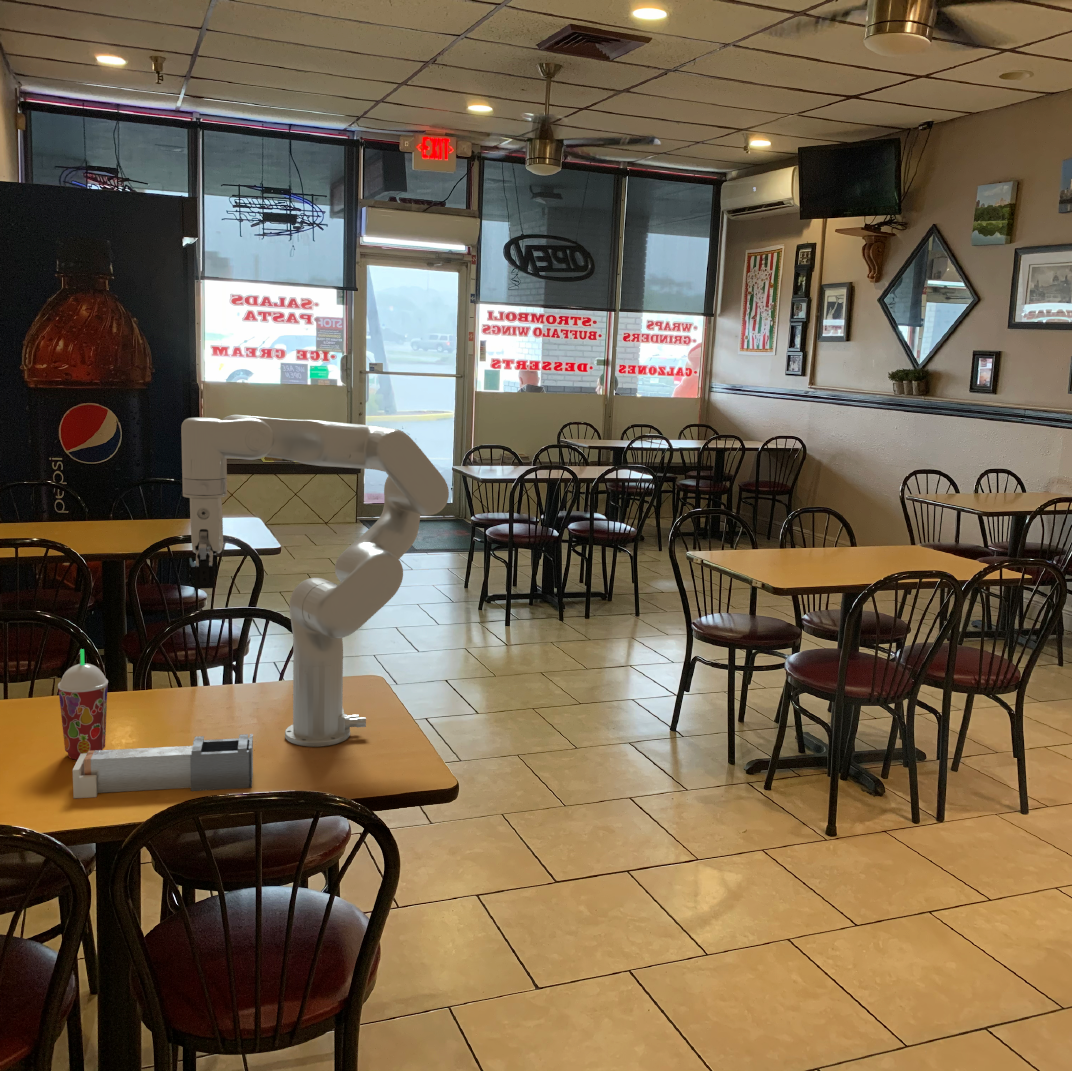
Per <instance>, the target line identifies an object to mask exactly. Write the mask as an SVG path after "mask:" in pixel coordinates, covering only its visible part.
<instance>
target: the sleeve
mask: <svg viewBox="0 0 1072 1071" xmlns="http://www.w3.org/2000/svg"><path fill="white" fill-rule="evenodd" d="M253 737H254V734H253V733H250V734H248V733H243V734H238V737H237V738H219V739H217V738H216V739H215V738H214V739H205V736H204V735H203V736H194V739H193V741H192V746H193V748H192V753H191V754H190V770H191V788H190V792H194V791H195V792H199V791H200V792H201V791H216V790H218V791H219V790H232V789H233V790H235V789H236V790H237V789H252V787H253V775H254V773H253V772H254V751H253V750H254V741H253V740H254V738H253Z"/></svg>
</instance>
